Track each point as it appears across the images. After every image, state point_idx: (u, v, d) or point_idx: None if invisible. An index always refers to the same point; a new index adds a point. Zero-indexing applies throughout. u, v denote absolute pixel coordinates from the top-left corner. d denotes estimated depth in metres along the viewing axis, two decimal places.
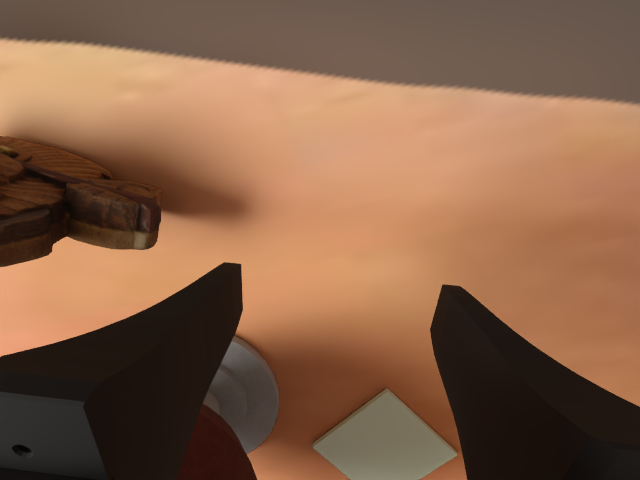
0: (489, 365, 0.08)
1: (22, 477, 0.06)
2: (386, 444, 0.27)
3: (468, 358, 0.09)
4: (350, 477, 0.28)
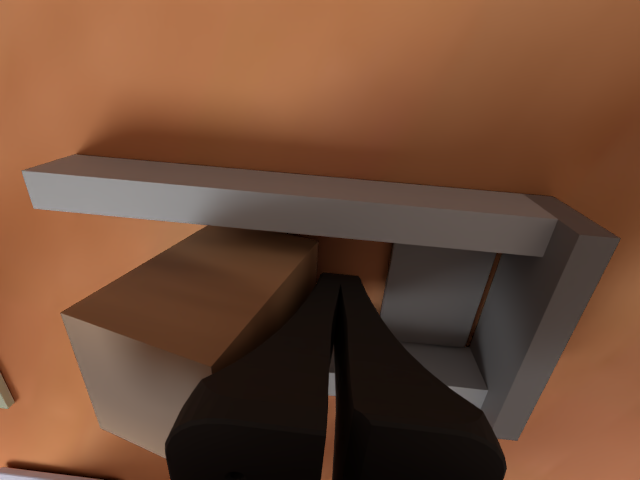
0: (345, 349, 0.08)
1: None
2: None
3: (342, 345, 0.10)
4: None
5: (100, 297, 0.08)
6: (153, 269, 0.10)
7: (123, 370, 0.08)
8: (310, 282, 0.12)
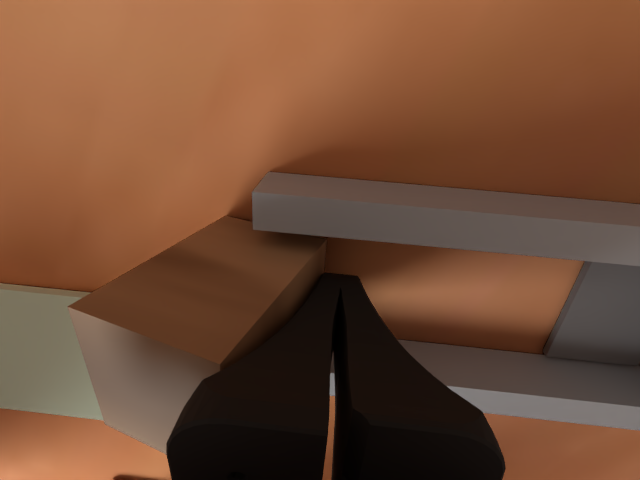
0: (345, 349, 0.09)
1: None
2: (27, 349, 0.16)
3: (341, 345, 0.10)
4: (65, 414, 0.18)
5: (107, 291, 0.08)
6: (160, 264, 0.09)
7: (129, 367, 0.08)
8: (317, 280, 0.12)
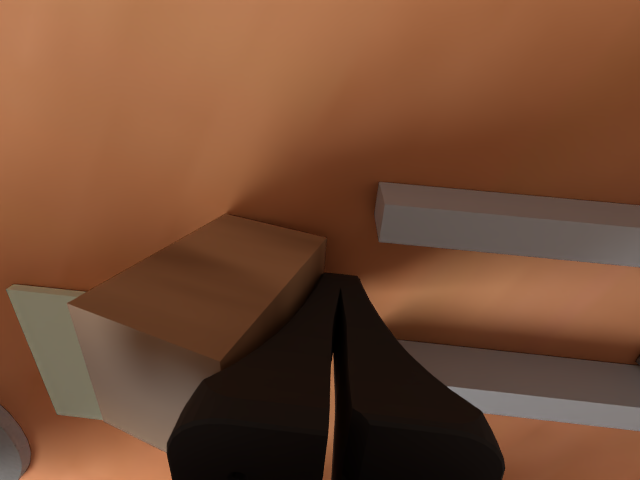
0: (344, 349, 0.08)
1: None
2: None
3: (341, 345, 0.10)
4: None
5: (107, 288, 0.08)
6: (160, 262, 0.09)
7: (129, 364, 0.08)
8: (317, 279, 0.12)
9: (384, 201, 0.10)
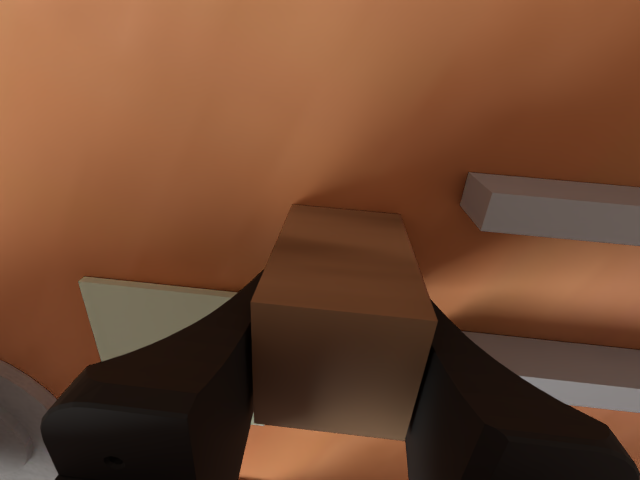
0: None
1: None
2: None
3: None
4: None
5: (271, 282, 0.08)
6: (289, 253, 0.09)
7: (318, 350, 0.08)
8: None
9: (489, 190, 0.10)
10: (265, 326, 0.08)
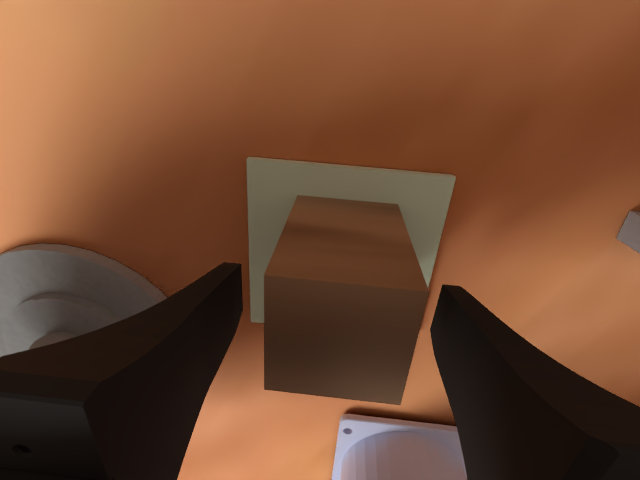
0: (489, 365, 0.08)
1: (22, 477, 0.06)
2: None
3: (468, 358, 0.09)
4: None
5: (281, 260, 0.09)
6: (296, 236, 0.10)
7: (323, 318, 0.09)
8: None
9: None
10: (276, 297, 0.09)
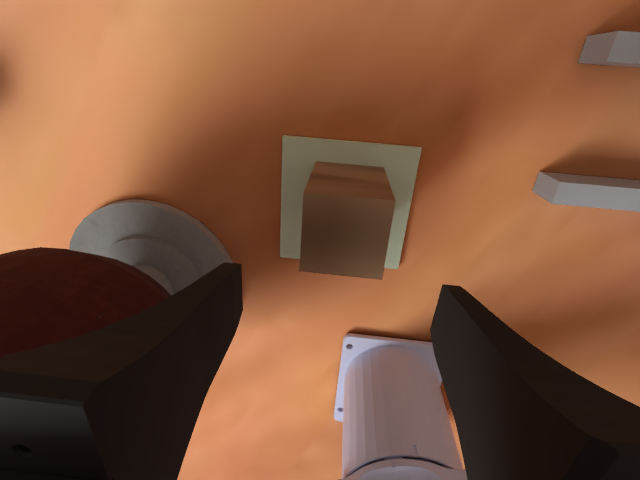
0: (489, 365, 0.08)
1: (22, 477, 0.06)
2: None
3: (468, 358, 0.09)
4: None
5: (312, 187, 0.16)
6: (318, 179, 0.17)
7: (336, 220, 0.15)
8: None
9: (614, 31, 0.15)
10: (309, 206, 0.15)
